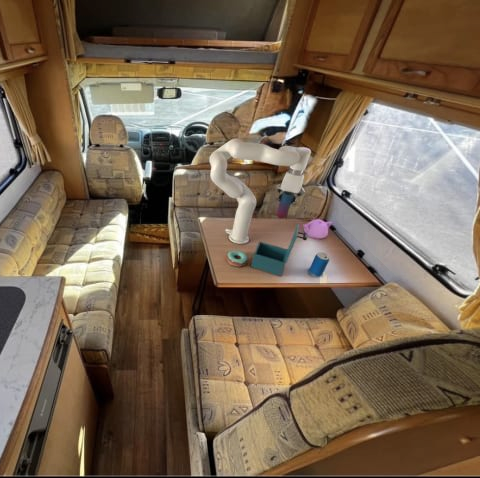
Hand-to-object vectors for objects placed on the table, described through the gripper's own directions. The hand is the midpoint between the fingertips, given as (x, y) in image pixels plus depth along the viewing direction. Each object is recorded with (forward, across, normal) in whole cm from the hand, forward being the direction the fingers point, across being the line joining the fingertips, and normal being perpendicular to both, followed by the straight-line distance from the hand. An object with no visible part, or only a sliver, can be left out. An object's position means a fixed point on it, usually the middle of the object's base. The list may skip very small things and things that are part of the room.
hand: (285, 201), depth 151 cm
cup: (+10, 0, 0) cm, 10 cm away
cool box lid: (+10, -8, +28) cm, 30 cm away
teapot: (+27, -23, -19) cm, 40 cm away
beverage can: (+27, -25, +23) cm, 43 cm away
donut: (+28, +16, +33) cm, 46 cm away
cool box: (+27, -1, +27) cm, 39 cm away
